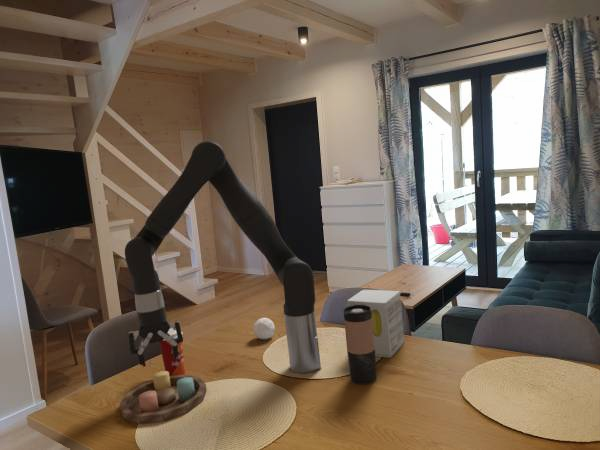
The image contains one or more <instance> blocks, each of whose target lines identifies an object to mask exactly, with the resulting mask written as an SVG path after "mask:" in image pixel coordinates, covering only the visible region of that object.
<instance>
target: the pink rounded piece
mask: <svg viewBox="0 0 600 450" xmlns="http://www.w3.org/2000/svg"><path fill="white" fill-rule="evenodd" d="M139 402H140V409H141V413H148V412H157V411H159V406H158V400H157V393H156V391H146V392H144V393H142V394H140V395H139Z"/></svg>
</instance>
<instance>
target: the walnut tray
mask: <svg viewBox="0 0 600 450" xmlns="http://www.w3.org/2000/svg"><path fill="white" fill-rule="evenodd" d="M169 377H170V384H171V388H167V389H162V390H159V391H157V392H156V393H157V400H158V406H159V411H157V412H148V413H141V409H140V402H139V395H140V394H142V393H144V392H146V391H155V387H154V380H153V379H152V380H151V381H147V382H145V383H144V382H143V383H142V384H140V385H139V386H137V387H135V388H133V389H132V390H130V391H129V392H127V393H126V394H125V395H124V397H123V398H122V399H121V401H120V402H119V407H120V408H119V409H120V412H121V415H122V417H123V419H124V420H125V421H127V422H131V423H135V424H139V425H144V424H154V423H155V424H156V423H162V422H166V421H170V420H172V419H175V418H178V417H180V416H182V415H186V414H188V413H189V412H191V411H192V410H193V409H195V408H197V406H199V405H200V404H202V403H203V401H204V400H205V397H206V395H207V391H208V390H207V384H206V382H205V381H203V380H202V378H201V377H199V376H195V375H190V374H183V375H177V376H169ZM185 377H191V378H193V382H194V389H195V396H193V397H192V398H191V399H189V400H188V401H186V402H180V401H179V396H178V389H177V381H178V380H180V379H182V378H185Z"/></svg>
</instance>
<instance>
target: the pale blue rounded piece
mask: <svg viewBox="0 0 600 450" xmlns="http://www.w3.org/2000/svg"><path fill="white" fill-rule="evenodd" d="M177 389H178V396H179V401H180V402H186V401H188V400H189V399H191V398H192V397H193V396H195V389H194V382H193V378H191V377H185V378H182V379H180V380H178V381H177Z"/></svg>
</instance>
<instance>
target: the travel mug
mask: <svg viewBox="0 0 600 450" xmlns="http://www.w3.org/2000/svg"><path fill="white" fill-rule="evenodd" d="M343 319H344V329H345V340H346V350H347V351H346V352H347V358H348V359H347V360H348V367H349V373H350V379H351V382H353V383H354V384H357V385H369V384H372V383H374V382H376V380H377V377H378V376H377V362H376V360H377V359H376V356H375V344H374V335H373V325H372V315H371V308H370V307H369V306H366V305H354V306H349V307H348V306H347V307H345V308H343Z"/></svg>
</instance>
